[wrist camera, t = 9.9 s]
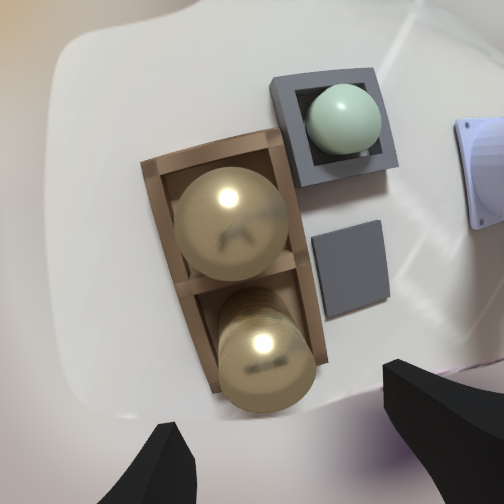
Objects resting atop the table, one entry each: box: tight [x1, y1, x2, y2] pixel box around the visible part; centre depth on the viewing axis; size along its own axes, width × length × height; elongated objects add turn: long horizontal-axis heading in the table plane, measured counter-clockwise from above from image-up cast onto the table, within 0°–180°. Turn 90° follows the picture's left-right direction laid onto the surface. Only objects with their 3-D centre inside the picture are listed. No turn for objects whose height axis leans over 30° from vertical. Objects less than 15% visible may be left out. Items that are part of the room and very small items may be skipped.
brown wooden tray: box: [140, 127, 328, 394], centre depth 17 cm, size 8×14×2 cm, turn 14°
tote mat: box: [311, 220, 390, 317], centre depth 19 cm, size 4×5×1 cm
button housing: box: [269, 68, 399, 187], centre depth 17 cm, size 6×6×2 cm
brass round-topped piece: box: [174, 167, 289, 281], centre depth 14 cm, size 4×4×6 cm
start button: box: [305, 84, 381, 155], centre depth 16 cm, size 4×4×2 cm
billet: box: [219, 286, 316, 413], centre depth 15 cm, size 4×4×6 cm
